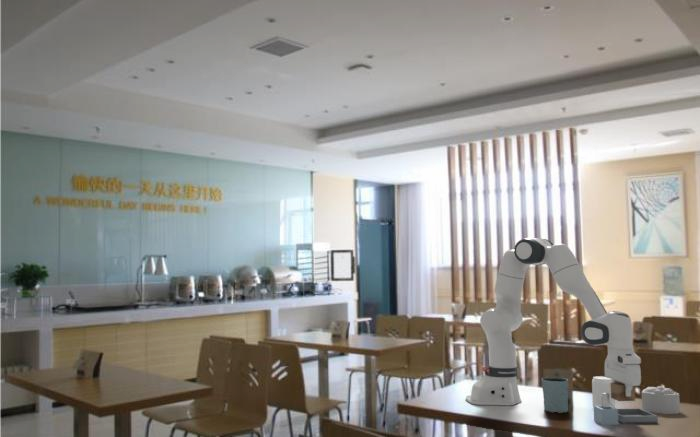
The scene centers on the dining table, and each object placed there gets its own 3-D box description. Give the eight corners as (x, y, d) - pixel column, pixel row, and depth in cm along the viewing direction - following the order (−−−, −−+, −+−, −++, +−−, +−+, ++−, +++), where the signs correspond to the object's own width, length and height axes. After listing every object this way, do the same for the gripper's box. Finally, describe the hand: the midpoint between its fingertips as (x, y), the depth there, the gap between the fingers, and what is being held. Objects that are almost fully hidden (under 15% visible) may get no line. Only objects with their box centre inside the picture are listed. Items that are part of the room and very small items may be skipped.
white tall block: (616, 411, 242) (615, 379, 243) (594, 410, 244) (593, 379, 245) (612, 406, 250) (611, 376, 251) (591, 405, 252) (590, 375, 253)
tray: (622, 423, 223) (622, 416, 223) (606, 415, 235) (606, 408, 235) (657, 423, 224) (657, 415, 224) (640, 415, 236) (639, 408, 236)
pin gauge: (611, 419, 224) (610, 393, 225) (604, 419, 224) (603, 394, 225) (607, 417, 227) (607, 392, 228) (600, 417, 227) (600, 392, 227)
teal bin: (565, 414, 238) (564, 382, 238) (539, 411, 243) (538, 379, 244) (571, 409, 246) (571, 378, 247) (545, 406, 251) (545, 375, 252)
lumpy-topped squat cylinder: (644, 406, 251) (643, 384, 252) (681, 410, 245) (680, 387, 245) (641, 411, 242) (640, 388, 243) (679, 415, 236) (678, 392, 236)
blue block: (602, 425, 222) (601, 409, 223) (594, 421, 228) (593, 405, 229) (618, 424, 223) (617, 409, 223) (609, 420, 229) (609, 405, 229)
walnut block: (619, 401, 226) (618, 385, 226) (611, 397, 232) (610, 382, 232) (635, 400, 226) (634, 385, 227) (626, 397, 232) (625, 382, 233)
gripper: (599, 352, 240) (600, 389, 239) (626, 359, 220) (628, 400, 219) (615, 352, 241) (616, 388, 240) (643, 359, 221) (645, 399, 219)
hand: (622, 394), depth 229 cm, fingers closed on walnut block, 6 cm apart
